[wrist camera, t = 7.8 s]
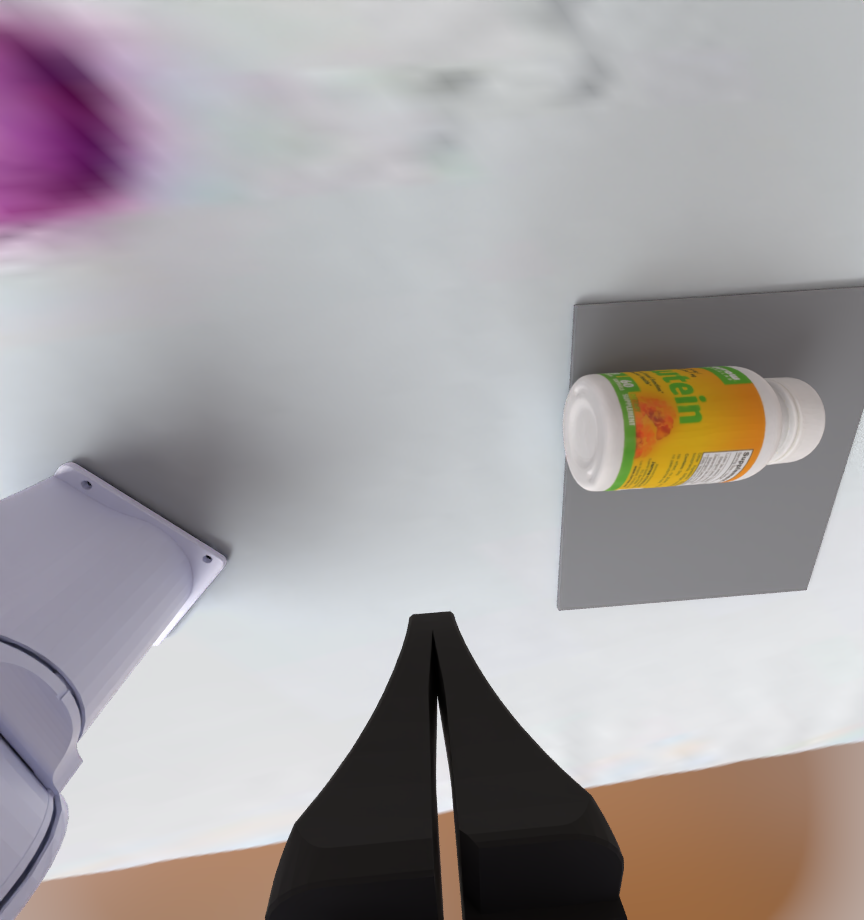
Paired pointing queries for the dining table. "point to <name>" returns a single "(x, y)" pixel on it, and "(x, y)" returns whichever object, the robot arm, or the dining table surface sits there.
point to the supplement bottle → (686, 426)
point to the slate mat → (716, 504)
